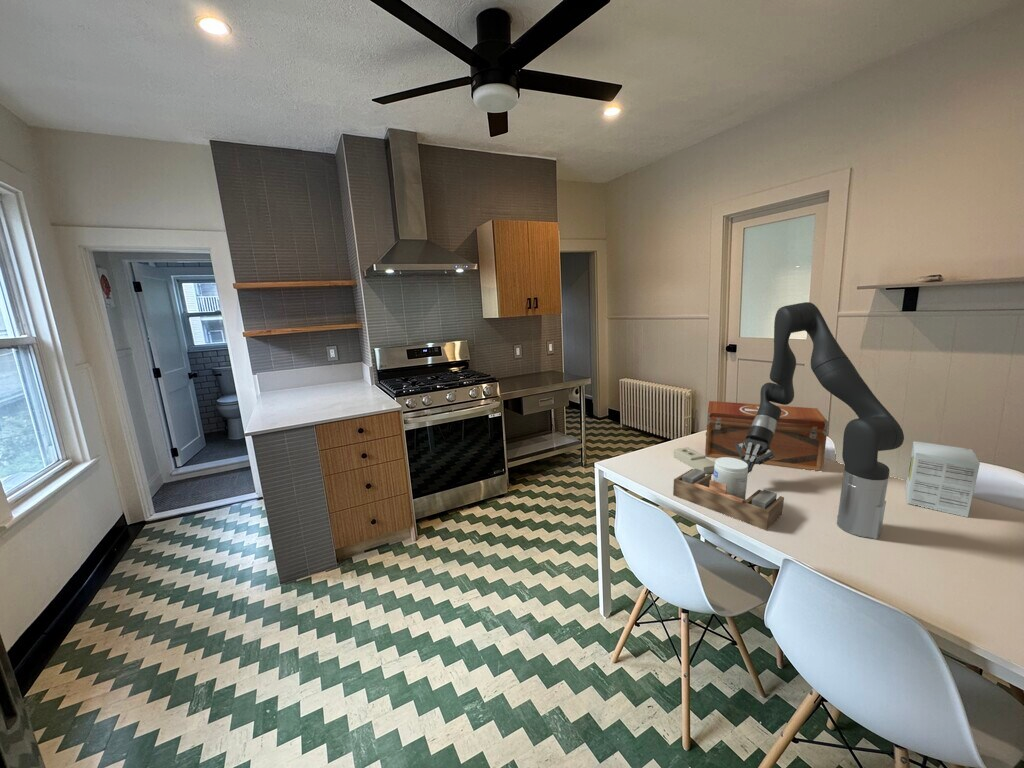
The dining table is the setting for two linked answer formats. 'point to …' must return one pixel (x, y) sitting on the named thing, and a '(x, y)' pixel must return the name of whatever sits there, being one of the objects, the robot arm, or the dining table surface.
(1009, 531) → the dining table surface
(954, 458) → the supplement box
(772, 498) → the rack
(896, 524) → the dining table surface
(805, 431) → the wooden box
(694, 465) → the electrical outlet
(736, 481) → the supplement tub
